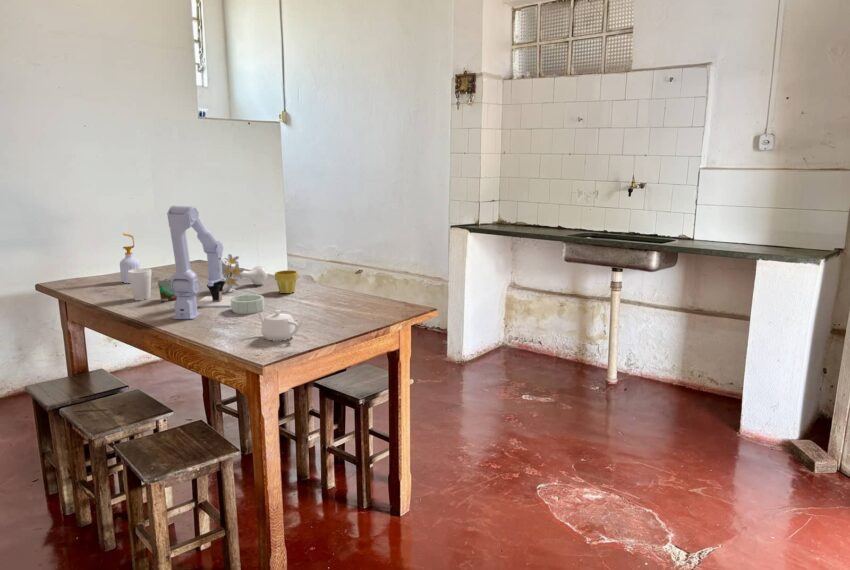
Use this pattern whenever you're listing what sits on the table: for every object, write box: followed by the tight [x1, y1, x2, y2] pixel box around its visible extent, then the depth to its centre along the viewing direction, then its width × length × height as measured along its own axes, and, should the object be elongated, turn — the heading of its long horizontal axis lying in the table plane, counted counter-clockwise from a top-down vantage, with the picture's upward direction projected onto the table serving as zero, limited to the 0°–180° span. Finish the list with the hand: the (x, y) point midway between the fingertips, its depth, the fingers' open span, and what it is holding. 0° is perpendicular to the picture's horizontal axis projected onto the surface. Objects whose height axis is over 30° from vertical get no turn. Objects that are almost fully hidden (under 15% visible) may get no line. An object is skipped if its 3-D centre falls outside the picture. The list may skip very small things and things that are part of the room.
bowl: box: [230, 293, 266, 315], centre depth 257 cm, size 13×13×6 cm
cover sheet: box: [196, 290, 236, 308], centre depth 270 cm, size 16×16×5 cm
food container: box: [157, 278, 177, 303], centre depth 274 cm, size 12×6×10 cm, turn 168°
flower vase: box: [221, 253, 269, 293], centre depth 297 cm, size 13×18×25 cm
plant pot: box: [274, 269, 298, 294], centre depth 289 cm, size 10×10×10 cm
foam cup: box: [128, 268, 153, 301], centre depth 276 cm, size 10×9×13 cm
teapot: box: [257, 309, 300, 341], centre depth 221 cm, size 20×12×10 cm, turn 58°
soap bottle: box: [119, 232, 141, 284], centre depth 309 cm, size 9×9×25 cm
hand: (217, 298), depth 270 cm, fingers closed on cover sheet, 3 cm apart
